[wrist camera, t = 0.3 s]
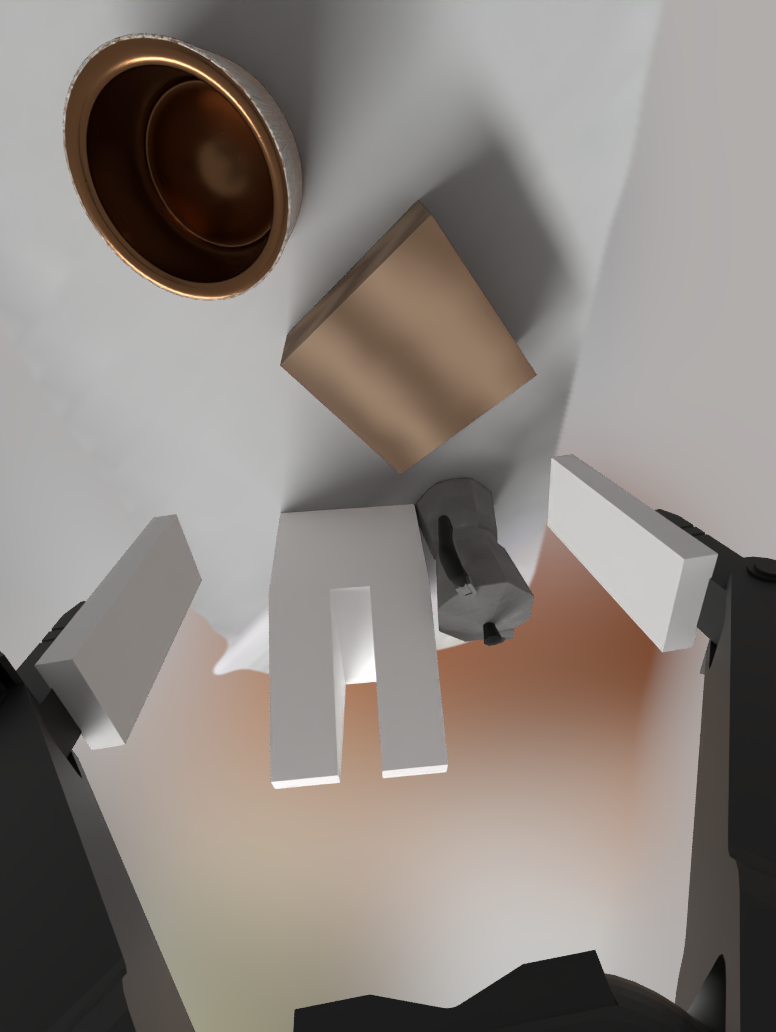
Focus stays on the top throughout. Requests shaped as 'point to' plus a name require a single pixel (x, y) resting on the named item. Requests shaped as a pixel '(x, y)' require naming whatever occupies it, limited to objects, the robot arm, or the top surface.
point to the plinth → (406, 345)
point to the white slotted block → (351, 642)
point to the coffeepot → (472, 564)
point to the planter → (182, 165)
